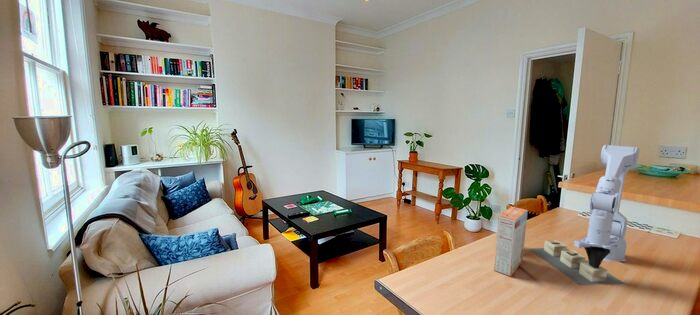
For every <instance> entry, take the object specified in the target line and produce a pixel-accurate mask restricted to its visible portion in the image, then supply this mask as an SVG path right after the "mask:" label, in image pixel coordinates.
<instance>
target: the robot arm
mask: <svg viewBox="0 0 700 315" xmlns="http://www.w3.org/2000/svg"><path fill="white" fill-rule="evenodd" d="M600 152H601V153H600V160H601V163H602V165H603V166H605V167H606V169H605V173H604V174H605V175H602V176H601V177H600V178H599V180H598V181H597V182H598V183H597V184H596V185H597V186H596V189H595V192H593V193H591V195H590V198H589V199H590V200H589V215H590V216H589V222H588V227H587V234H586V237H585V238H584V237H583V238H582V239H576V240H574V242H573V246H574V247H575V248H577V249H582V248H583V249H584V250H585V252H586V255H587V259H588V260H587V261H589V265H590V266H592V267H593V268H598V267H599V266H601V263H603V262H616V261H617V262H627V259H626V258H625V255H626V250H627V242H626V239H625V236H626V233H627V227H628V225H627V223H628V219H627V217H626V216H625V215H624V214H623V213H622V212H620V206H621V202H622V201H621V200H622V196H623V190H624V185H625V180H626V175H627V173H628V172H629V170H634V169H636V167H637V166H638V162H639V156H640V147H638V146H625V145H611V144H604V145H603V146H602V148H601V151H600Z"/></svg>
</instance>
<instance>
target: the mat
mask: <svg viewBox="0 0 700 315" xmlns="http://www.w3.org/2000/svg"><path fill="white" fill-rule="evenodd" d="M528 250H529V251H530V252H532V253H534V254H535V255H536V256H538V257H539V258H541V259H542V260H543V261H545V262H547V263H548V264H549V265H550V266H552V267H553V268H555V269H556V270H558V271H560V273H562V274H563V275H564V276H566V277H568V278H569V279H571V280H572V281H573V282H574V283H576V284H577V285H579V286H585V285H586V286H591V285H592V286H593V285H595V286H596V285H620V284H625V285H626V282H625V281H623V280H621V279H619V278H617V277H615V276H614V275H612V274H611V273H609V272H607V277H606V281H598V282H591V281H590V280H588V279H587V278H585V277H584V276H582V275H581V274H579V269H580V268H570V267H569V266H567V265H566V264H564V263H563V262H561V261H560V257H561V256H552V255H551V254H549V253H548V252H546V251H544V247H540V248H539V247H538V248H537V247H536V248H534V247H531V248H528ZM566 251H571V250H570V249H568V248H567V247H566ZM587 262H589V260H587V259H585V263H587Z"/></svg>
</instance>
